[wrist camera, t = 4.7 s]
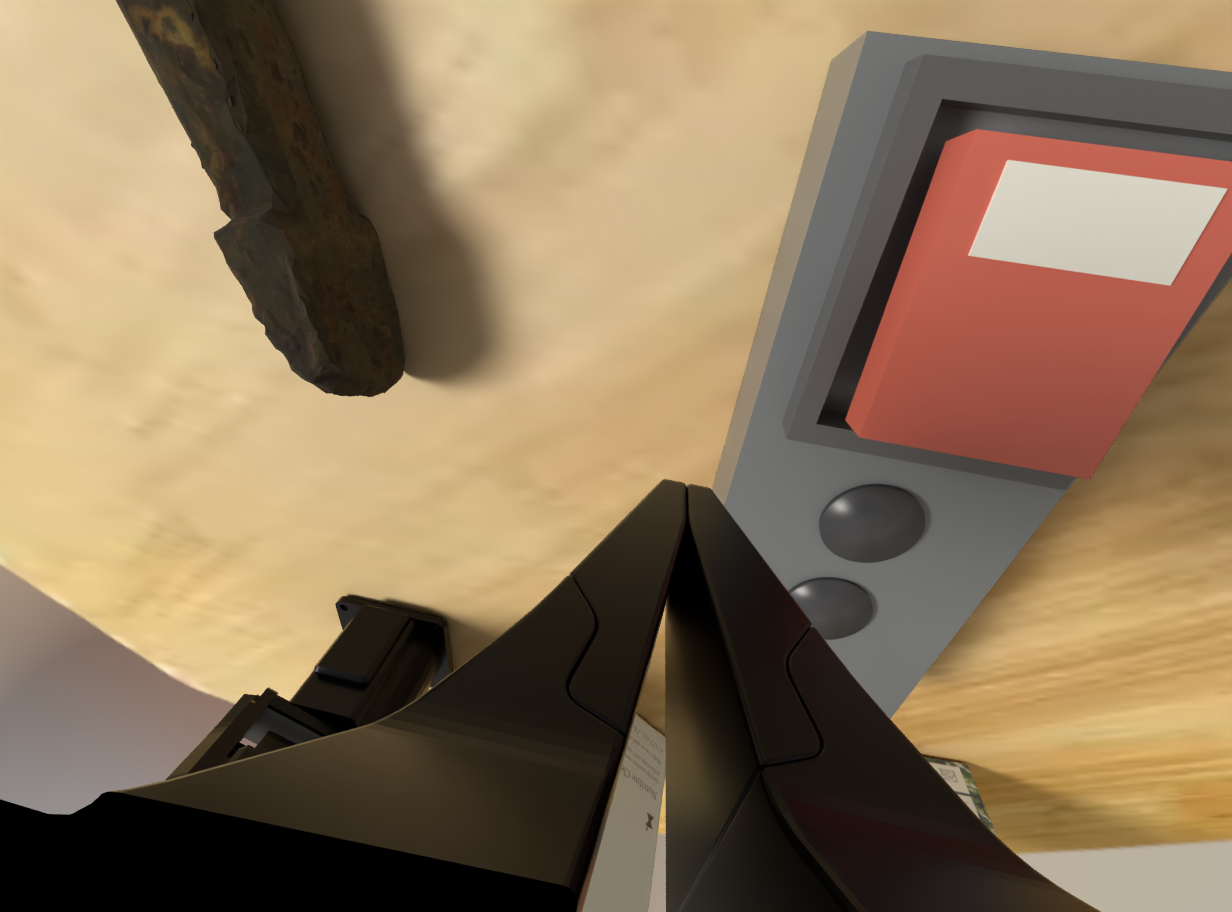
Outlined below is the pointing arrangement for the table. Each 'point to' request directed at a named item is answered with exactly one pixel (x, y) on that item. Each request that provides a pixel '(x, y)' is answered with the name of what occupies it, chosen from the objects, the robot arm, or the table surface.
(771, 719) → the robot arm
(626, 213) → the table surface
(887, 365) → the red flat block
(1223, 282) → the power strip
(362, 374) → the hand tool
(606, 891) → the skincare box
